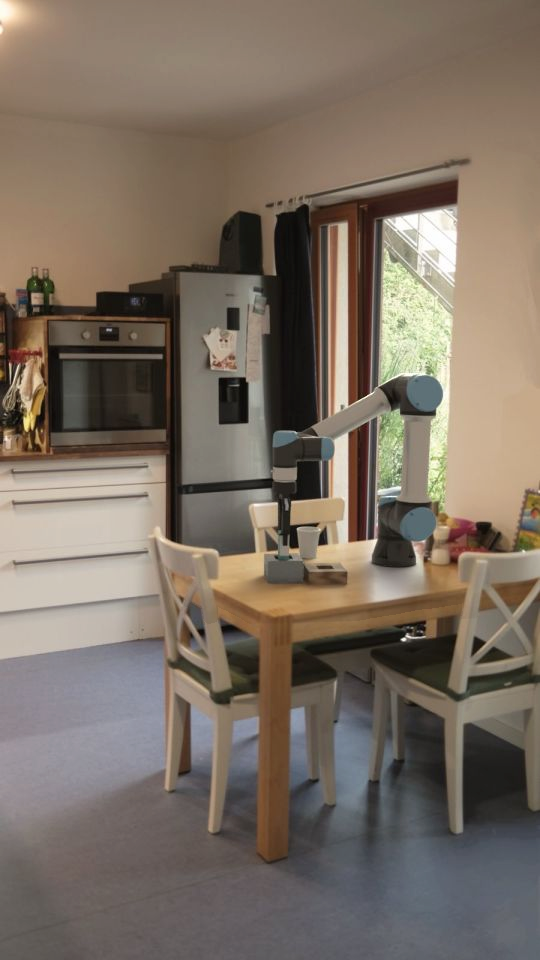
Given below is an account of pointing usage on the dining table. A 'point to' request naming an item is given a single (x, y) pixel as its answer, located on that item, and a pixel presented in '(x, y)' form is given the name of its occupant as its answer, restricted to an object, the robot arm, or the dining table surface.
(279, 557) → the pin
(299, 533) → the dixie cup
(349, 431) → the robot arm
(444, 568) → the dining table surface
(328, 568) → the mount
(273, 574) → the socket
